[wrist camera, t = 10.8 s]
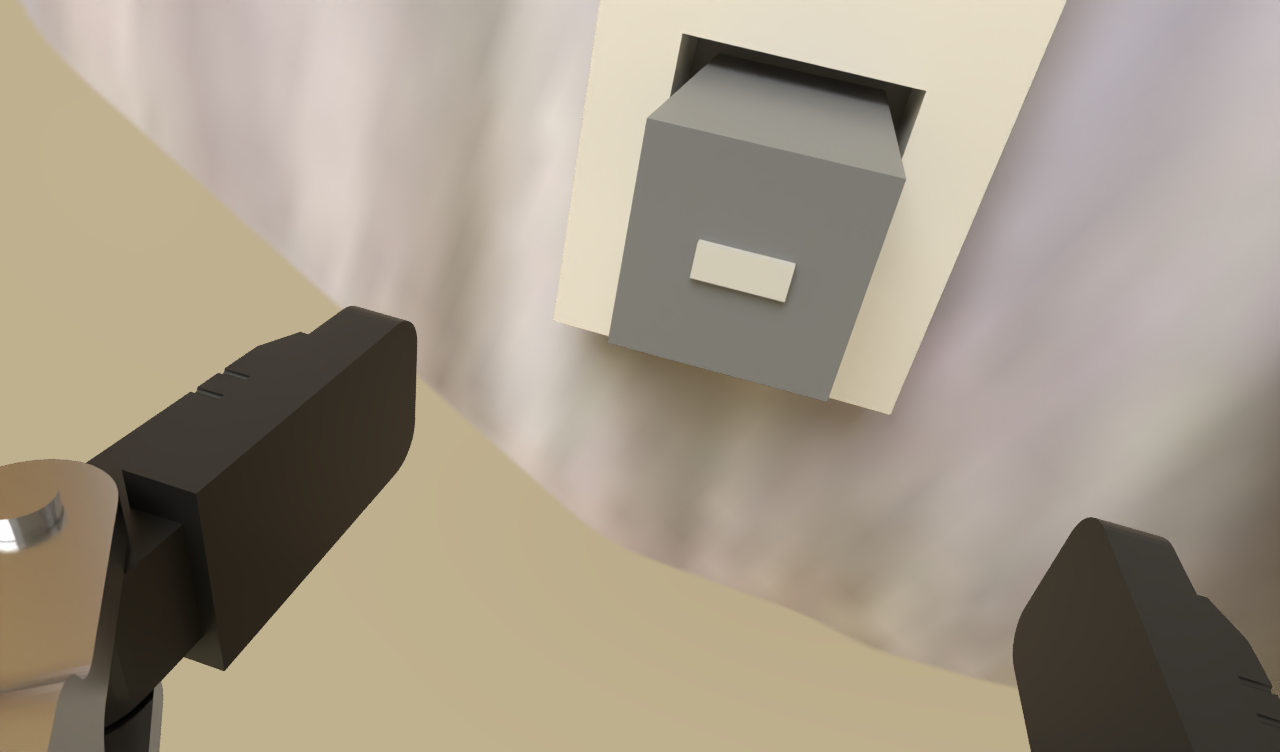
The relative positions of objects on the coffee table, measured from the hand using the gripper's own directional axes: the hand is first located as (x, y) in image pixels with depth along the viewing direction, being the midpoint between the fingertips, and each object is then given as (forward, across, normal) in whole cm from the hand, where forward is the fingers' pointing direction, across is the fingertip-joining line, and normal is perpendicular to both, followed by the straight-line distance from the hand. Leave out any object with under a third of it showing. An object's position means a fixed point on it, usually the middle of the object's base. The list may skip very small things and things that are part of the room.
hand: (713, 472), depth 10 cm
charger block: (+15, +1, 0) cm, 15 cm away
